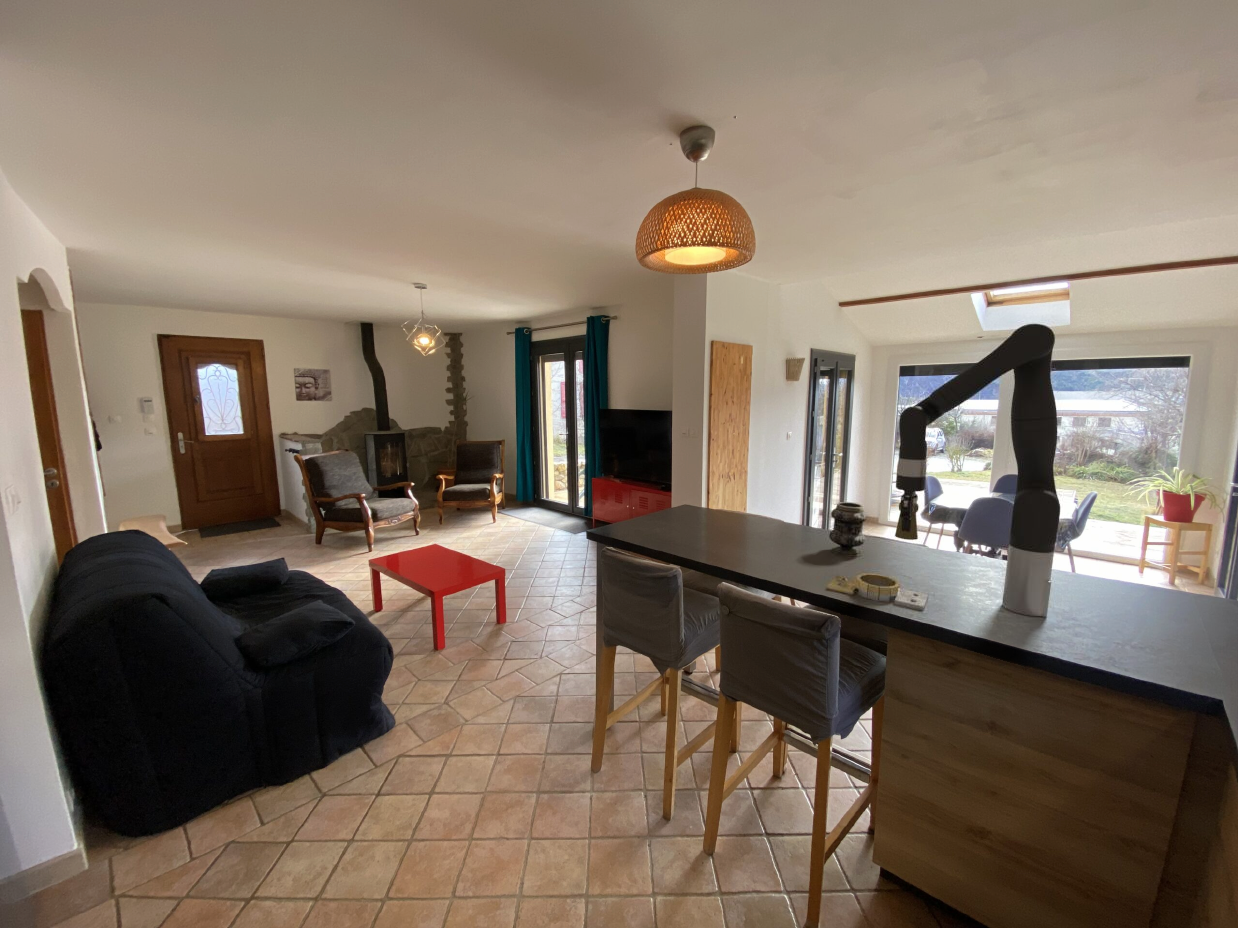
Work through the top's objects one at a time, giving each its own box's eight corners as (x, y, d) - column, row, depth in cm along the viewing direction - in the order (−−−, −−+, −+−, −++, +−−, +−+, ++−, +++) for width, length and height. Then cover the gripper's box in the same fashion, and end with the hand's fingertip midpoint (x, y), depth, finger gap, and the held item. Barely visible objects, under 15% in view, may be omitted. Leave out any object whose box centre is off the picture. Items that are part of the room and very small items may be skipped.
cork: (896, 538, 148) (899, 502, 146) (893, 533, 154) (895, 498, 152) (919, 540, 146) (922, 504, 144) (915, 535, 151) (918, 499, 150)
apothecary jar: (868, 558, 174) (872, 508, 171) (832, 556, 176) (835, 507, 174) (859, 548, 186) (862, 501, 183) (825, 546, 188) (828, 500, 185)
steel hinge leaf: (928, 597, 141) (929, 591, 141) (923, 611, 132) (924, 604, 132) (860, 583, 152) (861, 577, 151) (851, 594, 143) (852, 588, 143)
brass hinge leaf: (901, 592, 145) (902, 579, 144) (894, 604, 136) (895, 590, 136) (837, 578, 156) (837, 566, 155) (827, 589, 147) (828, 576, 147)
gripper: (922, 478, 139) (918, 537, 141) (928, 471, 150) (924, 526, 153) (892, 475, 144) (888, 533, 146) (900, 469, 155) (896, 523, 157)
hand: (906, 529), depth 149 cm, fingers closed on cork, 4 cm apart
